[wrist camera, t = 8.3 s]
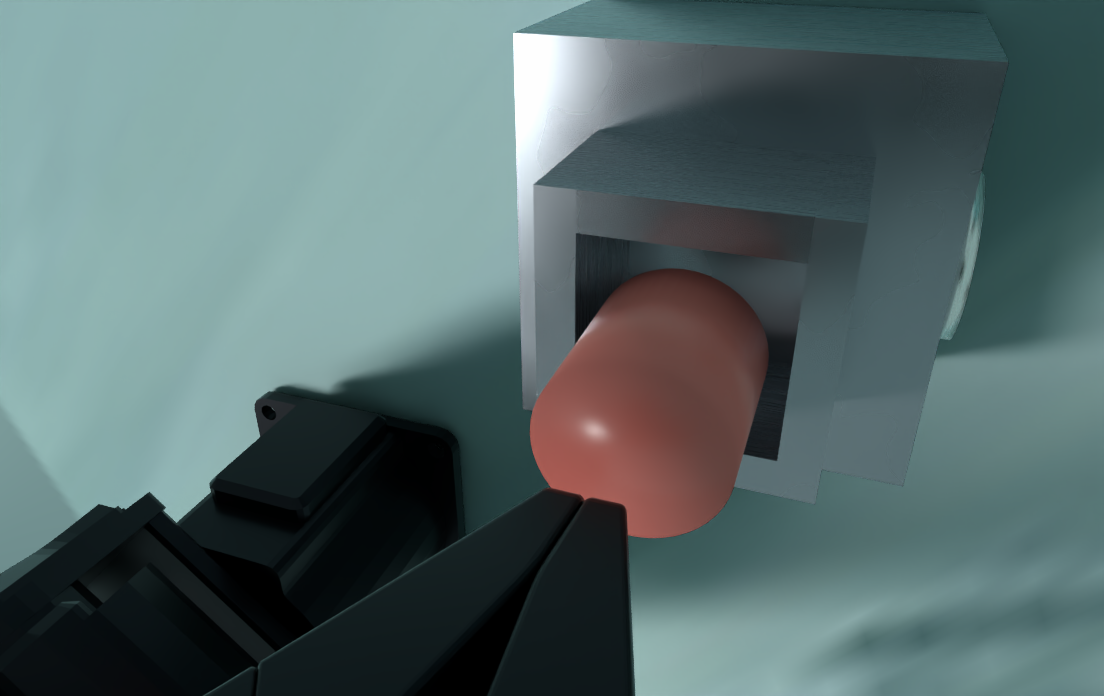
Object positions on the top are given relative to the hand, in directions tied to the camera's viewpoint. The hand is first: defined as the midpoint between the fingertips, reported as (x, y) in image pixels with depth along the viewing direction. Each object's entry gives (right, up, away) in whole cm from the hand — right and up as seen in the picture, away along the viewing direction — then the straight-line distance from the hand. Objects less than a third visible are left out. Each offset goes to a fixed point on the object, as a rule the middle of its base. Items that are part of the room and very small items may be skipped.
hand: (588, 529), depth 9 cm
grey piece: (+4, +5, +9) cm, 11 cm away
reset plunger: (+1, +2, +3) cm, 4 cm away
